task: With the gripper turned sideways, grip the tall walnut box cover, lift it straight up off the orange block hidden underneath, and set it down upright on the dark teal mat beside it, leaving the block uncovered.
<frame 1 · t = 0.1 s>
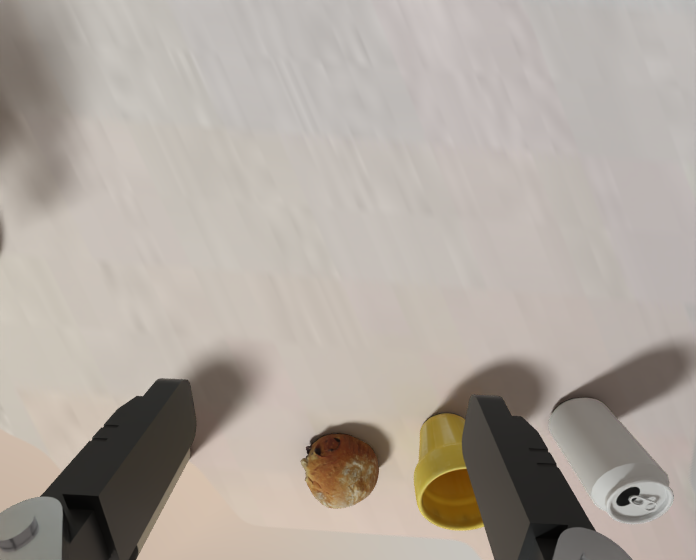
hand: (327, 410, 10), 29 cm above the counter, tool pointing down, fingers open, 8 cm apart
bread roll: (339, 455, 51), on the counter
travel mug: (164, 445, 51), on the counter
can: (574, 415, 47), on the counter
plant pot: (445, 430, 48), on the counter
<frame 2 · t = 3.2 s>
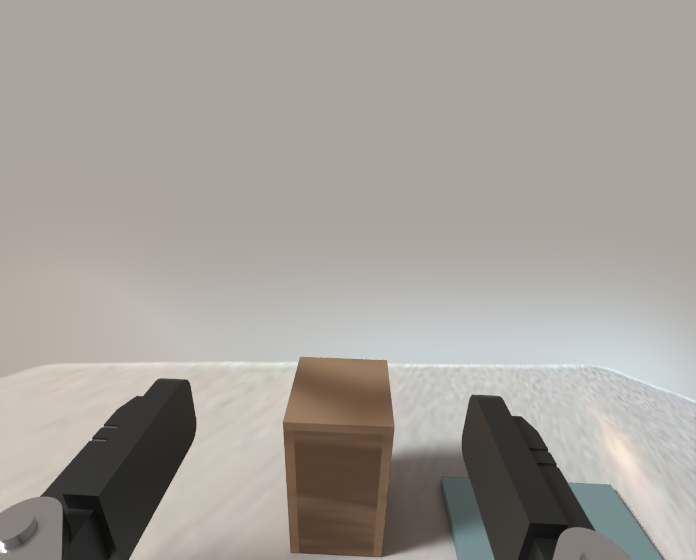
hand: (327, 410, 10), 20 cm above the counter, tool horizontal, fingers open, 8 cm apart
walnut cover: (338, 510, 28), on the counter
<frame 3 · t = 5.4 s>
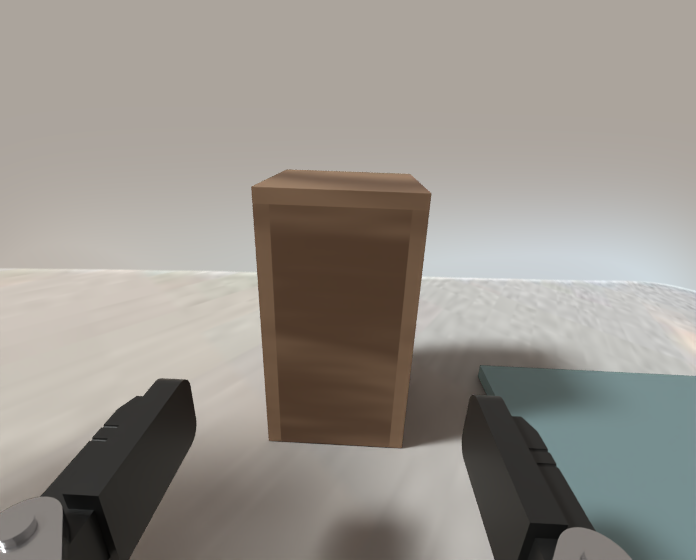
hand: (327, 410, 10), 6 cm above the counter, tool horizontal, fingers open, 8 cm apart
walnut cover: (339, 398, 20), on the counter
teal mat: (683, 482, 16), on the counter
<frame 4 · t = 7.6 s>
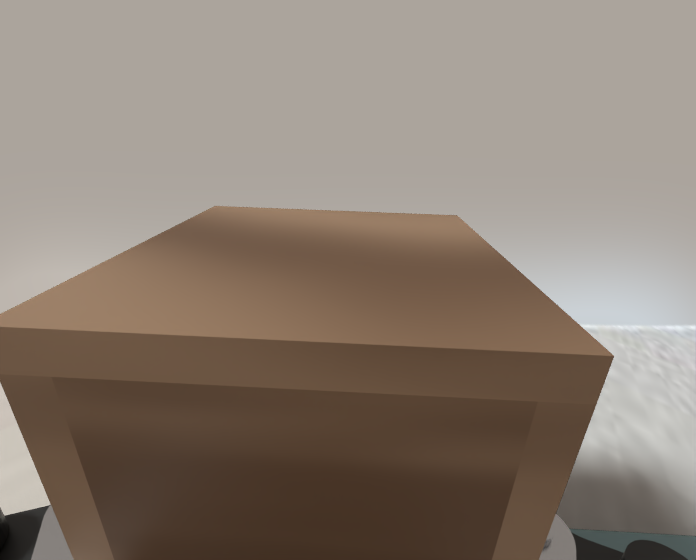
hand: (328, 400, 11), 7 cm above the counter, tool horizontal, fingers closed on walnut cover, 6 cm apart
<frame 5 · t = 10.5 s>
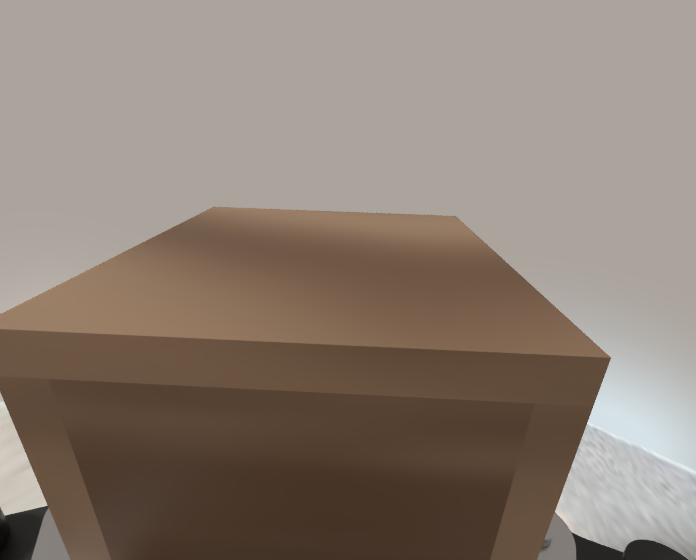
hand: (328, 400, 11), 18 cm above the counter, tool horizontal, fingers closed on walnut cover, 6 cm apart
when the fingers open (9 cm above the counter, at t = 13.3 s): walnut cover drops 1 cm, resting on teal mat.
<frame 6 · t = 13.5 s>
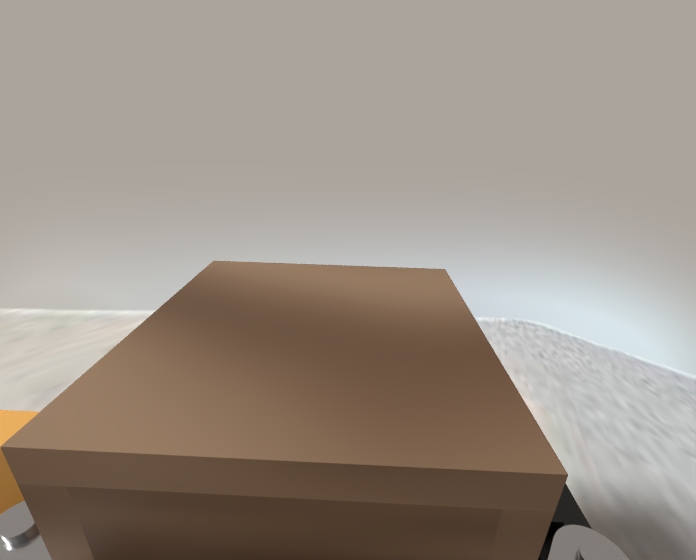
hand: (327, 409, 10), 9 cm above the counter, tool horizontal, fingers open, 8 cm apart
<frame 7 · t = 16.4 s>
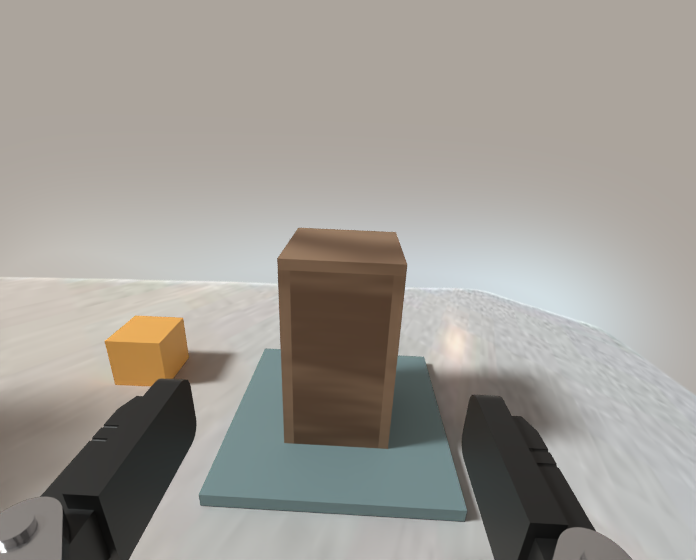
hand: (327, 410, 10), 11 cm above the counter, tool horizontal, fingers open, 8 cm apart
walnut cover: (338, 409, 25), point 1 cm above the counter, touching teal mat
teal mat: (339, 417, 26), on the counter
orange block: (154, 371, 30), on the counter
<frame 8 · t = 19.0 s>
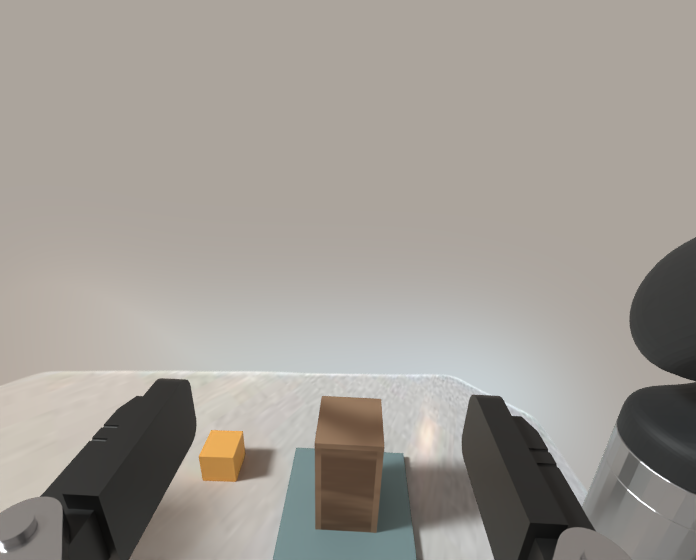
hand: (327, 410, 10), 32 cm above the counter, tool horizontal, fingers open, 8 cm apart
walnut cover: (347, 502, 41), point 1 cm above the counter, touching teal mat
teal mat: (347, 506, 41), on the counter
orange block: (225, 467, 45), on the counter
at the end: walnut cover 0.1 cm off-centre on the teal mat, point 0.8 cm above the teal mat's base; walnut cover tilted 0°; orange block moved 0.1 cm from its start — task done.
